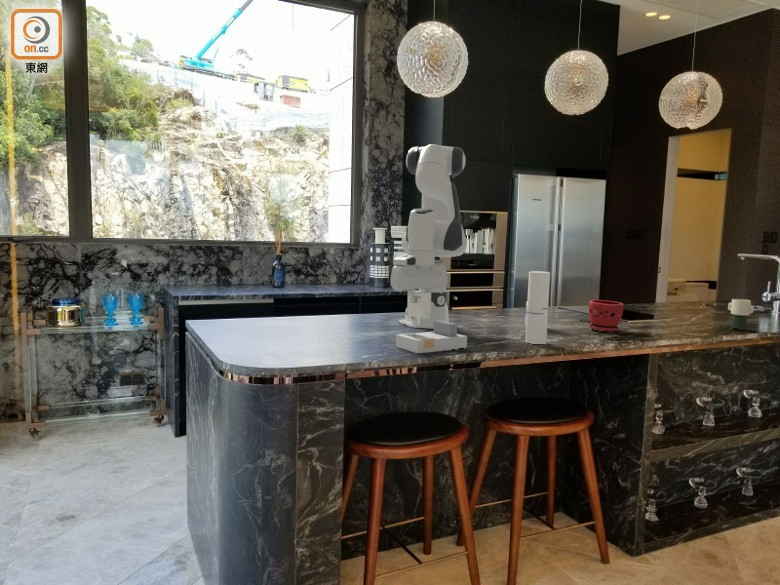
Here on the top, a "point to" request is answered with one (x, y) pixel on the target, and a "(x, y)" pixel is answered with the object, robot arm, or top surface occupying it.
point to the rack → (433, 339)
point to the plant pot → (605, 314)
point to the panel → (420, 305)
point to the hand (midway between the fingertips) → (419, 302)
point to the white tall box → (537, 307)
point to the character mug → (740, 312)
